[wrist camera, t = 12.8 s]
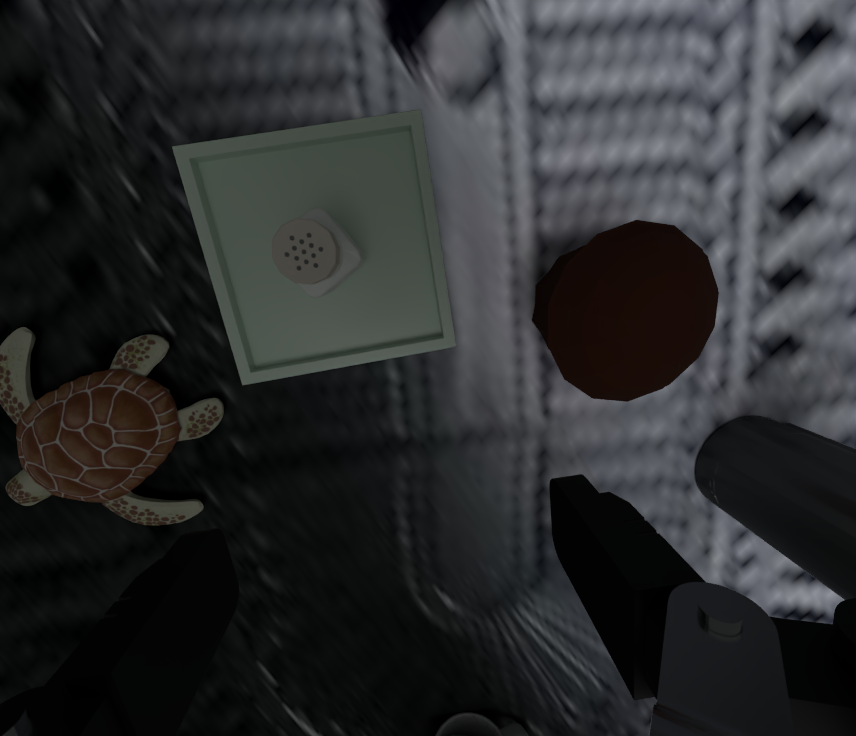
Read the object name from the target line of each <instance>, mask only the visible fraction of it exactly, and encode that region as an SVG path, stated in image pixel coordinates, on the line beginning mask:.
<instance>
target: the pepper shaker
mask: <svg viewBox="0 0 856 736" xmlns="http://www.w3.org/2000/svg"><path fill="white" fill-rule="evenodd" d="M271 250H272V258H273V260H274V262H275V264H276V266H277V268H278V270H279V271H280V273H281V274H283V275H284V276H286V277H287V278H288V279H290V280H291V281H293V282H294V283H297V284H298V285H299V287H300V288H301V289H302V290H303V291H304V292H305V293H306V294H307V295H309V296H311V297H313V298H318V297H321V296H324V295H326V294H328V293H330V292H332V291H334V290H335V289H336V288H338V287H339V286H340V285H341V284H342V283H344V282H345V281H346V280H347V279H348V278H349V277H351V276H352V275H353V274H354V273H355V272H356V271H358V270H359V269H360V268H361V267H362V266H363V265H364V263H365V261H366V258H365V255H364V253H363V252H362V251H361V249H360V248H359V247H358V246H357V245H356V243H355V242H354V241H353V240H352V238H351V237H350V236H349V235H348V234H347V232H346V231H345V230H344V229H343V228H342V226H341V225H340V224H339V223H338V222H337V220H335V219H334V218H333V217H332V216H331V215H330V214H328V213H327V212H326V211H325V210H323V209H321V208H319V207H318V208H314V209H310V210H309V211H308V212H307V213H305V214H304V215H303V216H301V217H300V218H296V219H293V220H291V221H289V222H287V223H285V224H283V225H281V226H280V228H279V229H278V231H277V233H276V234H275V236H274V237H273V239H272V248H271Z"/></svg>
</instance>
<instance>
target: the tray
mask: <svg viewBox="0 0 856 736" xmlns="http://www.w3.org/2000/svg"><path fill="white" fill-rule="evenodd" d="M172 148H173V152H174V155H175V158H176V162H177V165H178V169H179V172H180V175H181V179H182V182H183V185H184V189H185V192H186V196H187V199H188V202H189V206H190V209H191V213H192V216H193V219H194V223H195V226H196V229H197V233H198V236H199V240H200V243H201V246H202V250H203V253H204V257H205V260H206V263H207V267H208V270H209V273H210V277H211V280H212V284H213V287H214V290H215V294H216V297H217V301H218V304H219V307H220V311H221V314H222V317H223V321H224V324H225V328H226V331H227V334H228V338H229V341H230V345H231V348H232V351H233V355H234V358H235V361H236V365H237V368H238V372H239V375H240V378H241V382H242V385H247V384H252V383H258V382H263V381H269V380H274V379H280V378H285V377H291V376H296V375H302V374H307V373H313V372H319V371H324V370H330V369H335V368H341V367H346V366H352V365H357V364H363V363H368V362H374V361H379V360H385V359H390V358H396V357H401V356H407V355H412V354H418V353H424V352H429V351H435V350H440V349H446V348H451V347H456V342H455V335H454V329H453V322H452V315H451V308H450V302H449V295H448V288H447V281H446V275H445V268H444V261H443V254H442V248H441V241H440V234H439V227H438V221H437V214H436V207H435V200H434V194H433V187H432V180H431V173H430V167H429V160H428V153H427V146H426V140H425V133H424V126H423V119H422V113H421V110H414V111H407V112H401V113H394V114H387V115H381V116H374V117H367V118H361V119H354V120H347V121H341V122H334V123H327V124H320V125H314V126H307V127H300V128H294V129H287V130H280V131H274V132H267V133H260V134H254V135H247V136H240V137H234V138H227V139H220V140H213V141H207V142H200V143H193V144H187V145H180V146H173V147H172ZM318 207H319V208H321V209H323V210H325V211H326V212H327V213H328V214H330V215H331V216H332V217H333V218H334V219H335V220H337V222H338V223H339V224H340V225H341V226H342V228H343V229H344V230H345V231H346V232H347V234H348V235H349V236H350V237H351V238H352V240H353V241H354V242H355V243H356V245H357V246H358V247H359V248H360V249H361V251H362V252H363V253H364V255H365V258H366V261H365V263H364V265H363V266H362V267H361V268H360V269H359V270H358V271H356V272H355V273H354V274H353V275H352V276H351V277H349V278H348V279H347V280H346V281H345V282H344V283H342V284H341V285H340V286H339V287H338V288H336V289H335V290H334V291H332V292H330V293H328V294H326V295H324V296H321V297H318V298H313V297H311V296H309V295H307V294H306V293H305V292H304V291H303V290H302V289H301V288H300V287H299V285H298V284H297V283H294V282H293V281H291V280H290V279H288V278H287V277H286V276H284V275H283V274H281V273H280V271H279V270H278V268H277V266H276V264H275V262H274V260H273V258H272V250H271V248H272V239H273V237H274V236H275V234H276V233H277V231H278V229H279V228H280V226H281V225H283V224H285V223H287V222H289V221H291V220H293V219H296V218H300V217H301V216H303V215H304V214H305V213H307V212H308V211H309V210H310V209H314V208H318Z"/></svg>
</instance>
